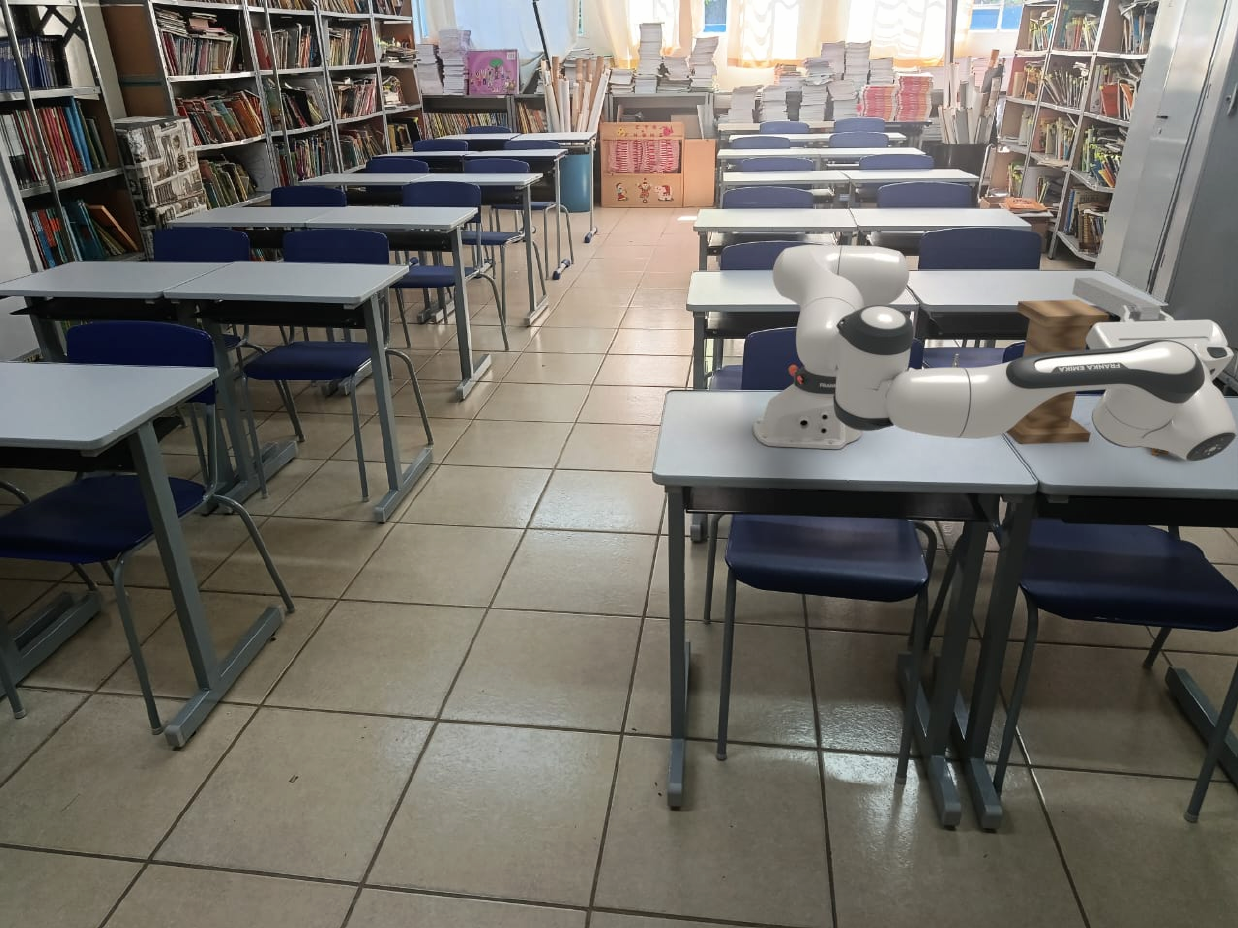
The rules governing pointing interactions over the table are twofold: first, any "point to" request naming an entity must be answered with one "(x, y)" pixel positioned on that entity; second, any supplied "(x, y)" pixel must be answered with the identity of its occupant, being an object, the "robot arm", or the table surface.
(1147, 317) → the metal block
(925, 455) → the table surface
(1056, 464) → the table surface
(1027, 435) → the walnut stand
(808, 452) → the table surface
